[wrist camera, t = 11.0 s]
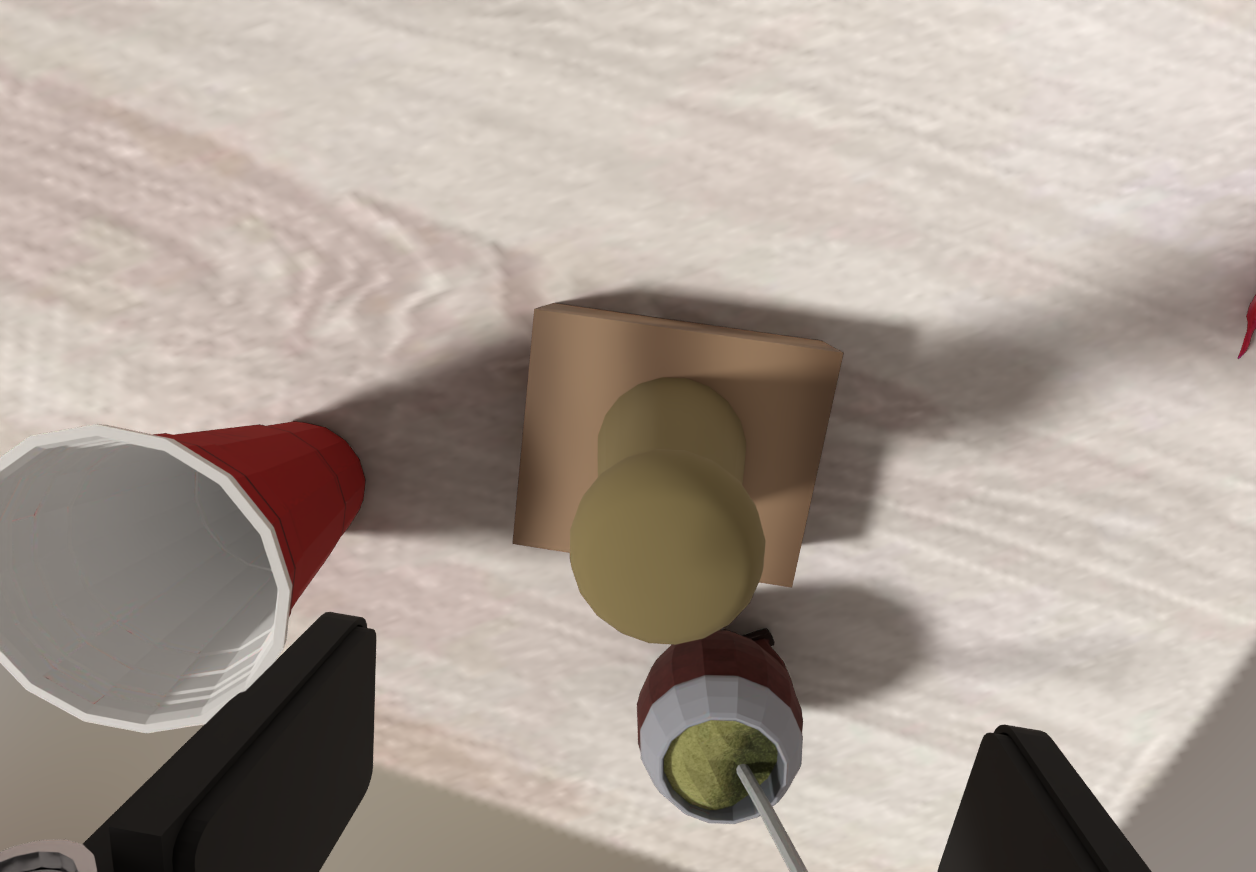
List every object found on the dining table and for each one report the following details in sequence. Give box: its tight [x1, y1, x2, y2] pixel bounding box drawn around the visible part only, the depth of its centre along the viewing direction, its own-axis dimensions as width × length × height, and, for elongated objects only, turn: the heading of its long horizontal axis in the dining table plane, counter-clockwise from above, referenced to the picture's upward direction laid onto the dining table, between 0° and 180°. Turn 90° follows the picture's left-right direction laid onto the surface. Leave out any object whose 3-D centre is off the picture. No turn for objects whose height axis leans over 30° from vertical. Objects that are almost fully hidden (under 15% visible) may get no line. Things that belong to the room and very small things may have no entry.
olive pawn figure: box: [570, 377, 766, 645], centre depth 21 cm, size 6×6×11 cm
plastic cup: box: [0, 421, 365, 733], centre depth 27 cm, size 11×11×12 cm
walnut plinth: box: [513, 303, 843, 587], centre depth 28 cm, size 12×10×4 cm
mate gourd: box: [637, 629, 808, 872], centre depth 26 cm, size 8×8×15 cm
